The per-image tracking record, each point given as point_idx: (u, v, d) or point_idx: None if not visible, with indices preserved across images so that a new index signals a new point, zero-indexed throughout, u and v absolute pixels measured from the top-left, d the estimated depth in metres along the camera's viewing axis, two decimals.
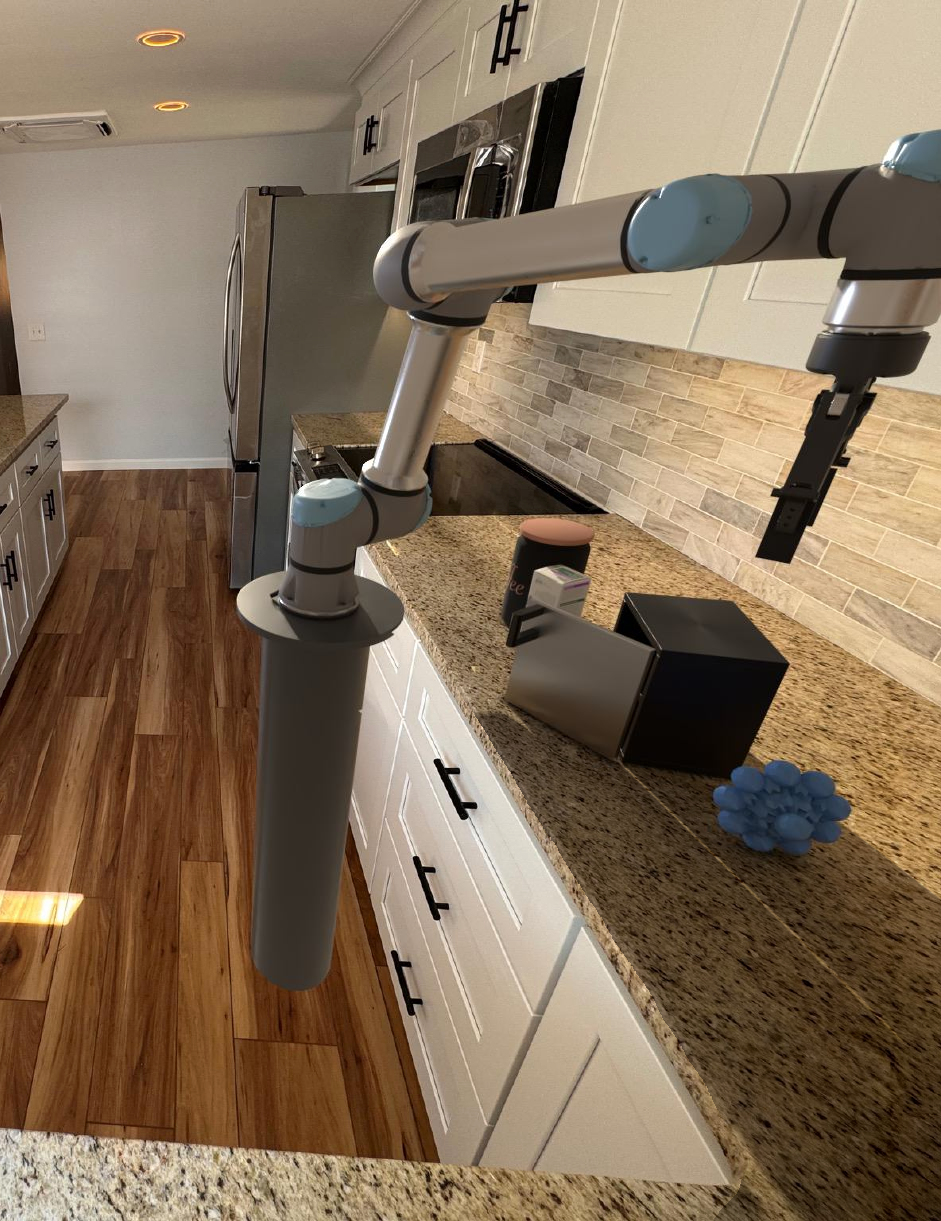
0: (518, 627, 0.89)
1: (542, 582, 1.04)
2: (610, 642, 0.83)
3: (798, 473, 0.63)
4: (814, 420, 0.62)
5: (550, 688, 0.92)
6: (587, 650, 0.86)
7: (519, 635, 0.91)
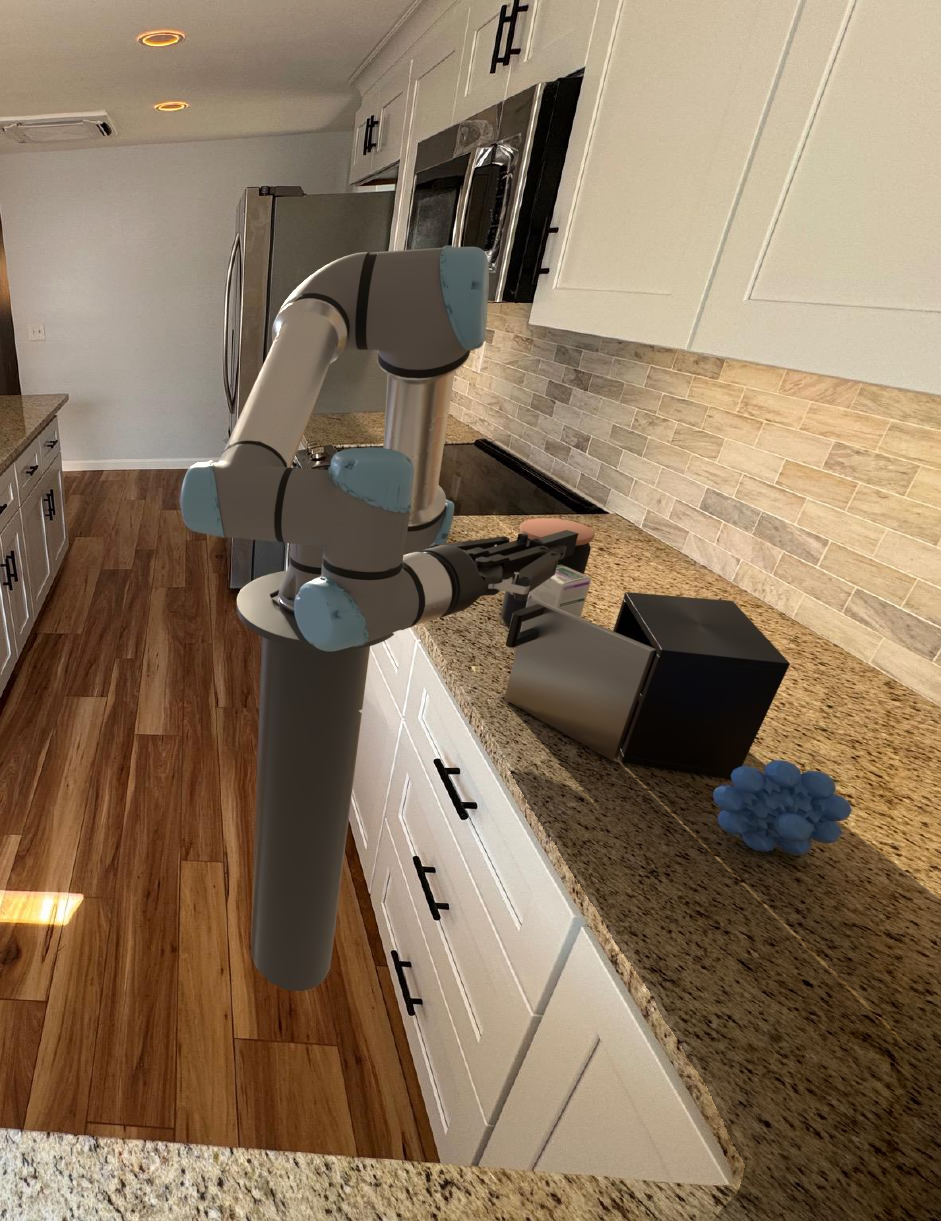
0: (518, 627, 0.89)
1: None
2: (610, 642, 0.83)
3: None
4: (451, 543, 0.79)
5: (550, 688, 0.92)
6: (587, 650, 0.86)
7: (519, 635, 0.91)
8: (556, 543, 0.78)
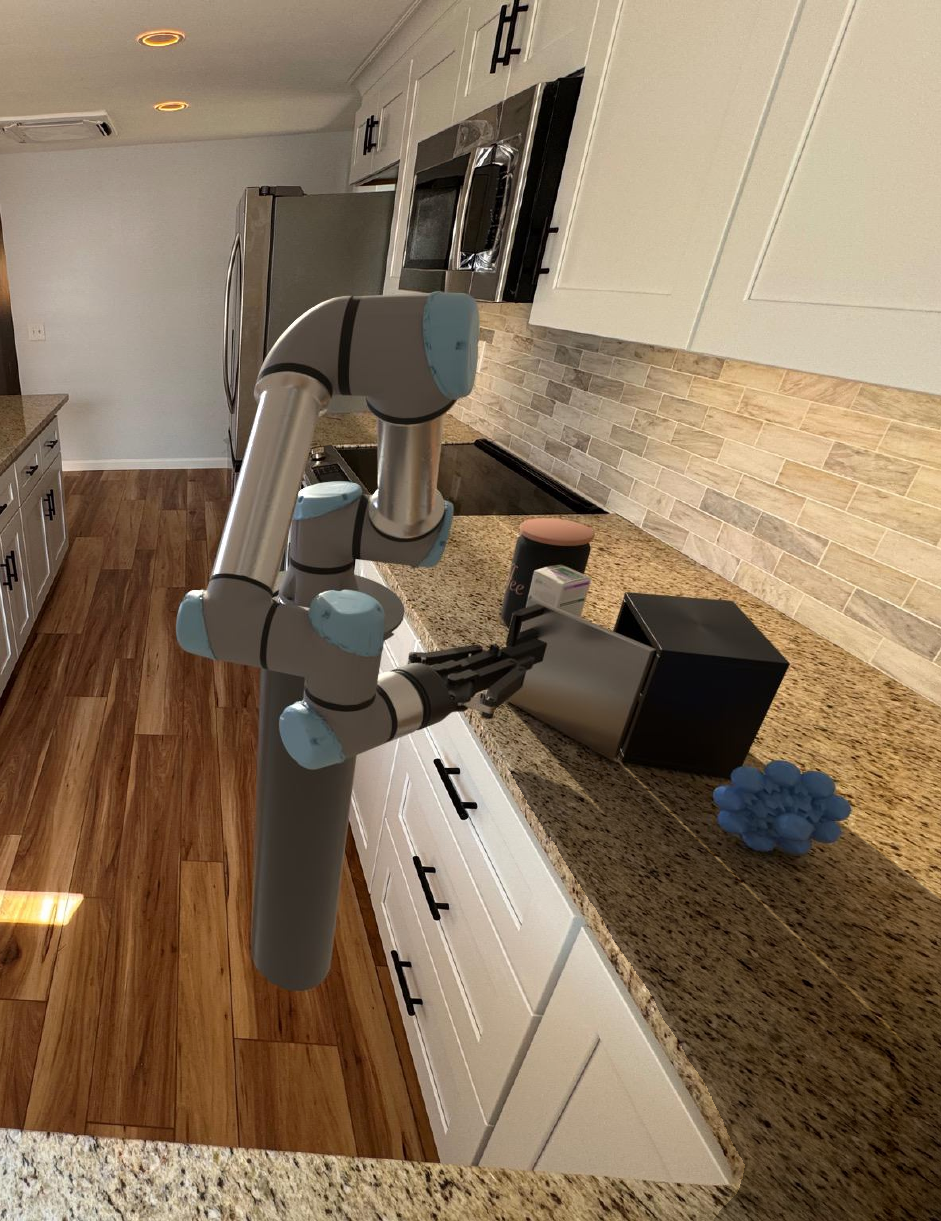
0: (518, 627, 0.89)
1: (541, 582, 1.04)
2: (610, 642, 0.83)
3: None
4: (428, 652, 0.86)
5: (550, 688, 0.92)
6: (587, 650, 0.86)
7: (519, 635, 0.91)
8: (525, 654, 0.85)
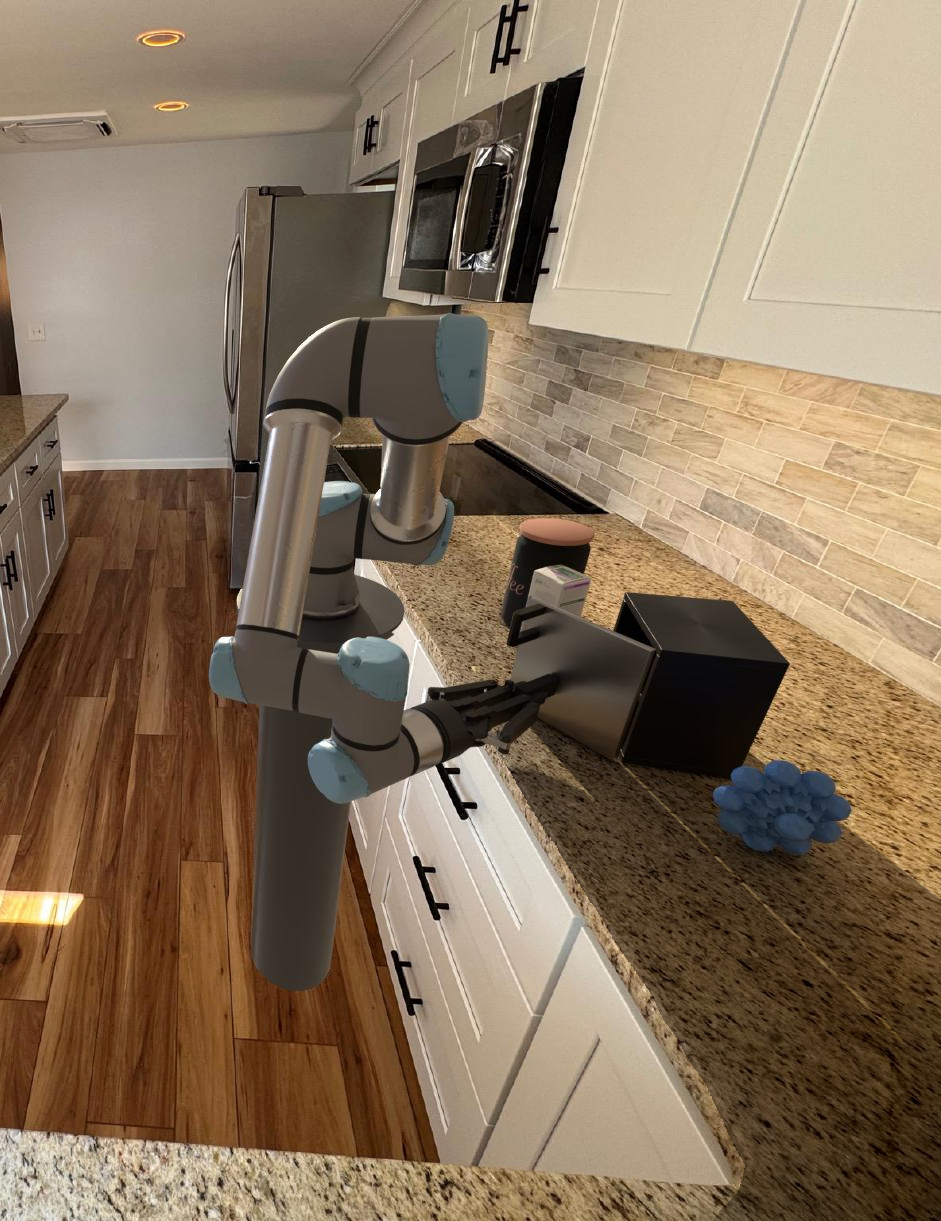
0: (519, 626, 0.89)
1: (541, 582, 1.04)
2: (610, 641, 0.83)
3: None
4: (446, 687, 0.91)
5: None
6: (587, 650, 0.86)
7: (520, 634, 0.91)
8: (539, 689, 0.89)
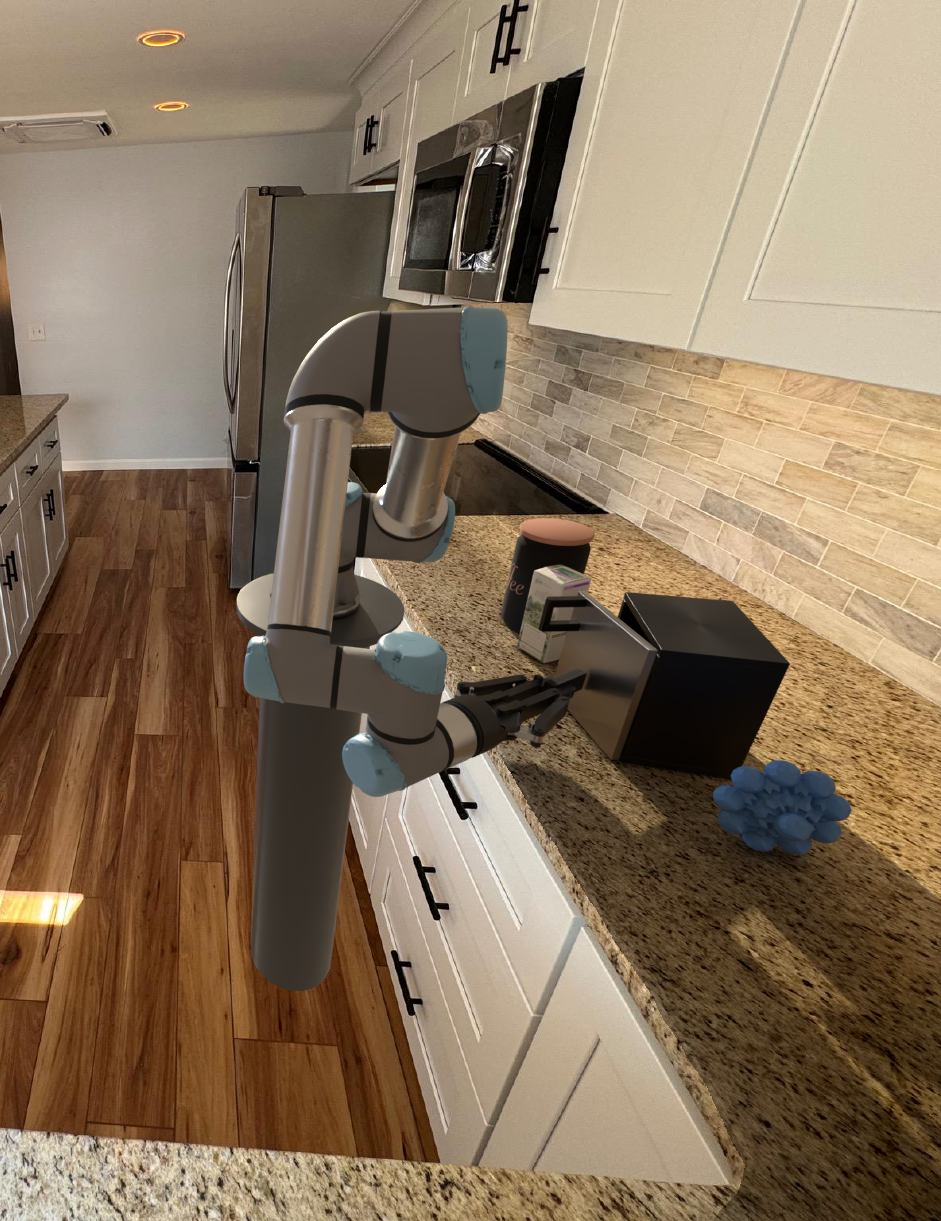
0: (549, 612, 0.92)
1: (541, 582, 1.04)
2: (624, 638, 0.84)
3: None
4: (475, 682, 0.91)
5: None
6: (608, 646, 0.87)
7: (555, 622, 0.94)
8: (567, 683, 0.90)
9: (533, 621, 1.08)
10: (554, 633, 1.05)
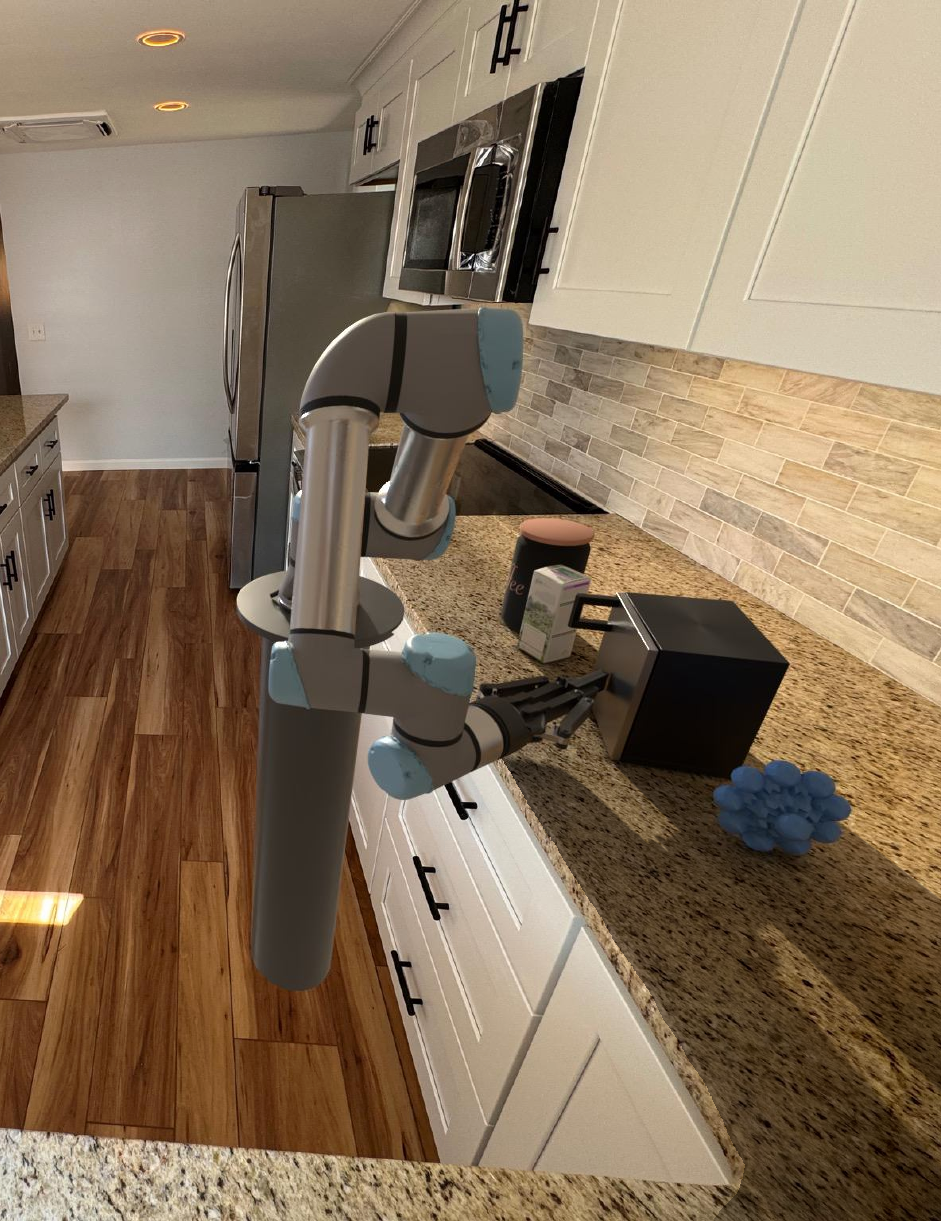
0: (577, 608, 0.93)
1: (541, 582, 1.04)
2: (636, 638, 0.83)
3: None
4: (498, 683, 0.91)
5: None
6: (626, 646, 0.86)
7: (585, 620, 0.94)
8: (589, 684, 0.90)
9: (533, 621, 1.08)
10: (554, 633, 1.05)
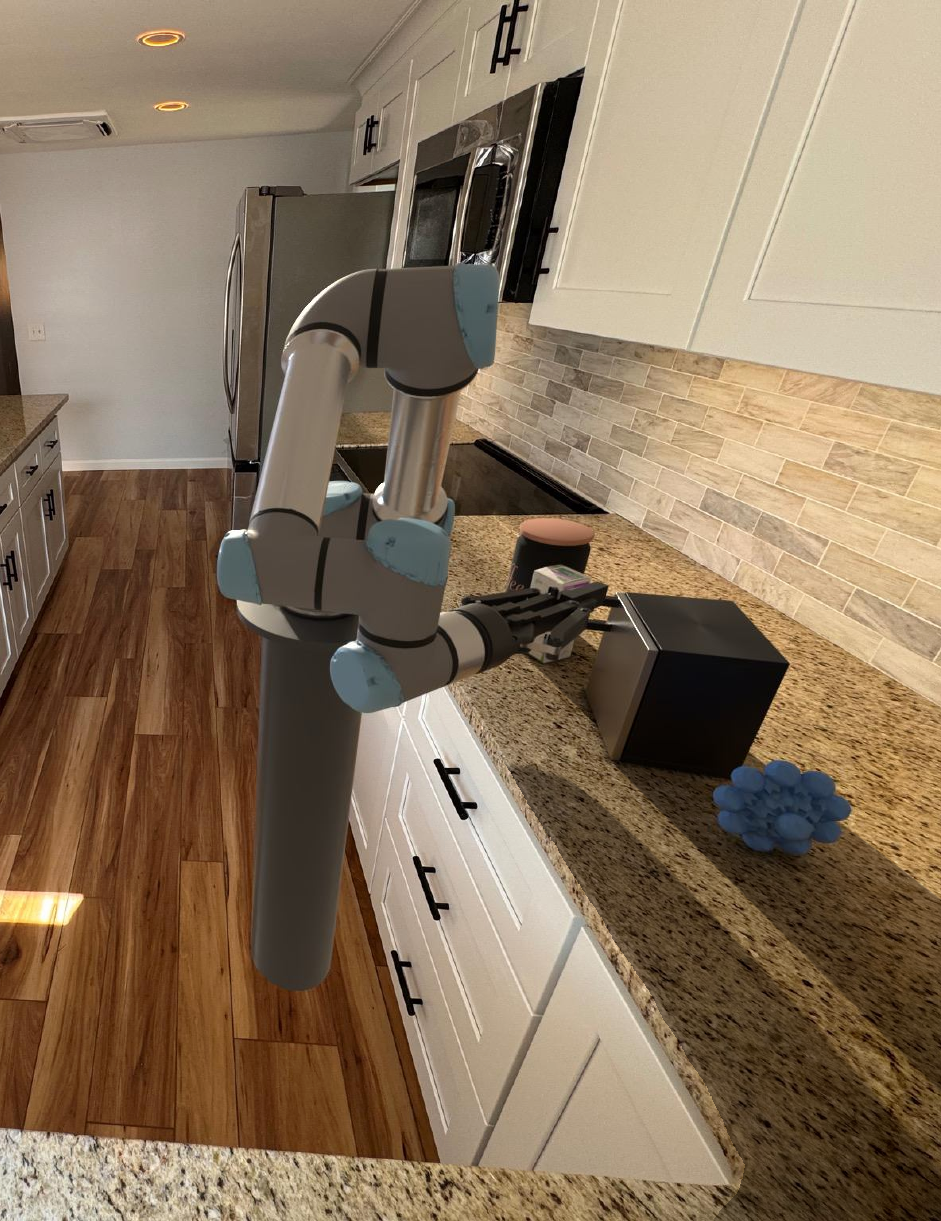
0: None
1: (541, 582, 1.04)
2: (635, 638, 0.83)
3: None
4: (482, 596, 0.81)
5: (604, 682, 0.93)
6: (625, 646, 0.86)
7: None
8: (587, 596, 0.80)
9: None
10: None
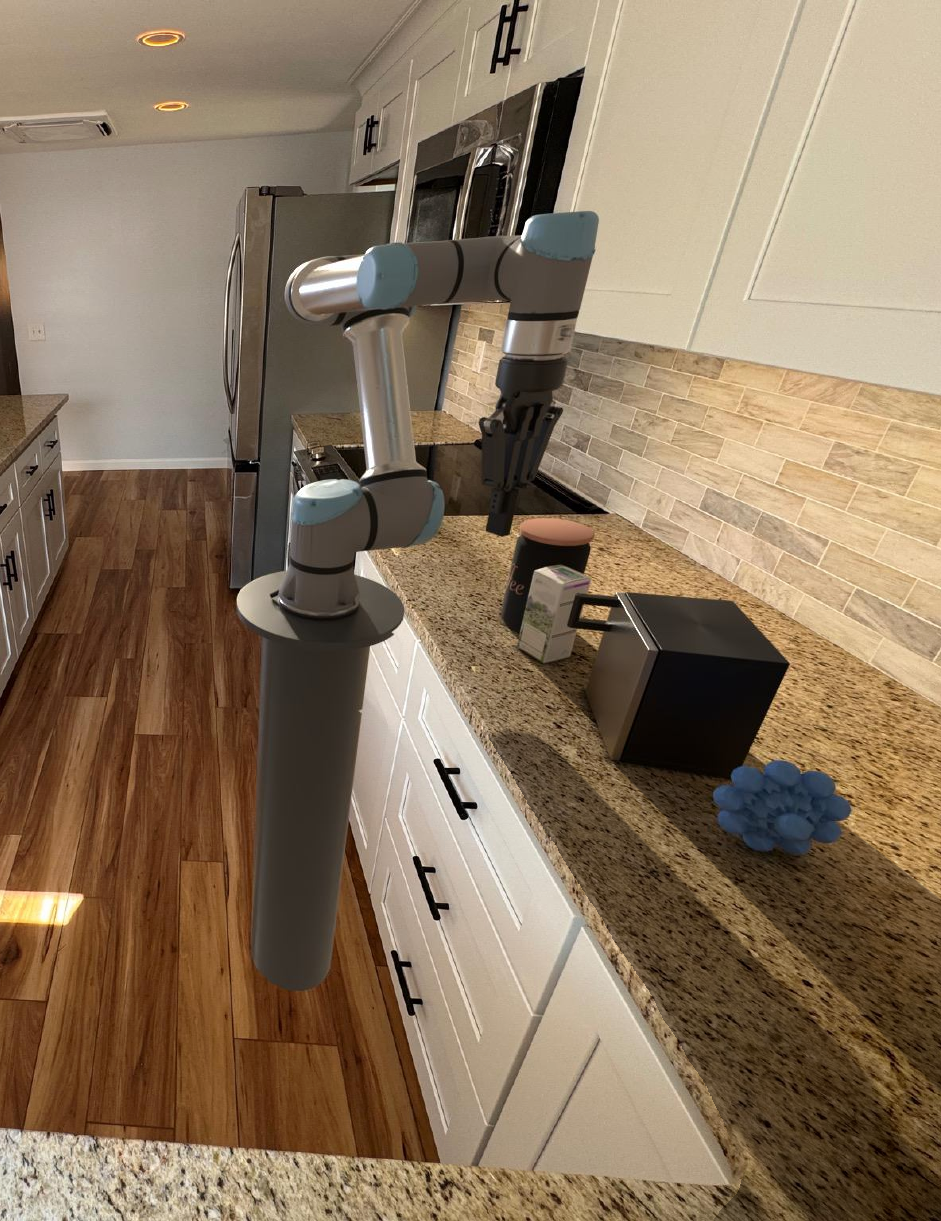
0: (577, 608, 0.93)
1: (541, 582, 1.04)
2: (635, 638, 0.83)
3: (486, 472, 0.89)
4: (482, 436, 0.87)
5: (604, 682, 0.93)
6: (625, 646, 0.86)
7: (585, 620, 0.94)
8: None
9: (533, 621, 1.08)
10: (554, 633, 1.05)
